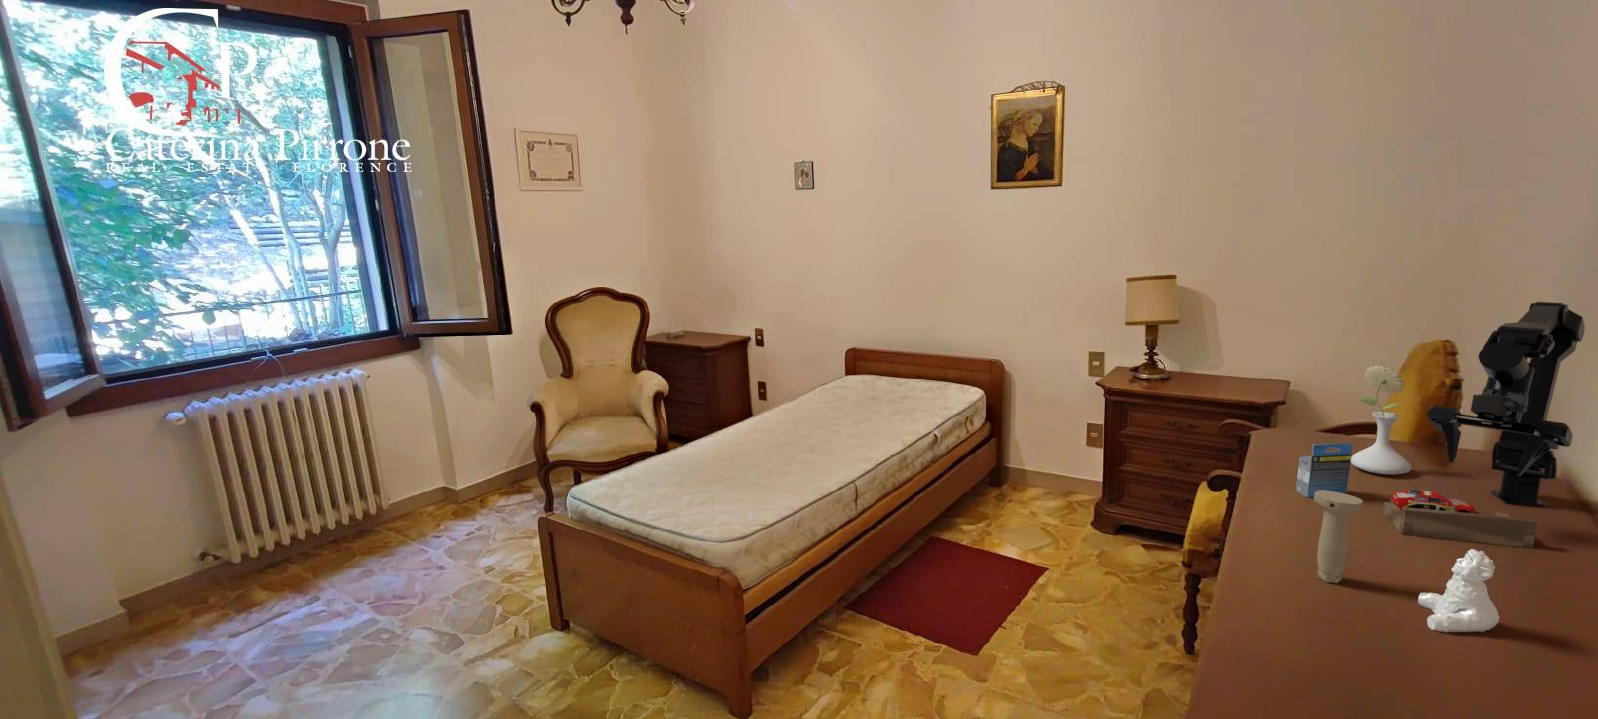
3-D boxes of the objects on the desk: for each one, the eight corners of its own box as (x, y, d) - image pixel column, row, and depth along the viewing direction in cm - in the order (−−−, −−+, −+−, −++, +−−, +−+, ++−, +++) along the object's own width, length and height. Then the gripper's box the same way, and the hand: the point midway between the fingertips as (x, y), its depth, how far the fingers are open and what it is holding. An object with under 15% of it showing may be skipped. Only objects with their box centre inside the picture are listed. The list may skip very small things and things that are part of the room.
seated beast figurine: (1414, 600, 113) (1423, 531, 111) (1486, 613, 109) (1497, 541, 107) (1428, 630, 105) (1439, 556, 103) (1507, 645, 101) (1520, 568, 99)
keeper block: (1382, 513, 145) (1385, 490, 144) (1503, 524, 138) (1506, 500, 137) (1402, 534, 135) (1405, 510, 135) (1533, 547, 128) (1537, 522, 127)
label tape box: (1333, 489, 158) (1338, 437, 156) (1347, 496, 154) (1353, 442, 152) (1294, 491, 158) (1299, 439, 156) (1308, 498, 154) (1313, 444, 152)
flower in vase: (1424, 478, 162) (1437, 372, 157) (1373, 479, 162) (1386, 374, 158) (1378, 459, 175) (1390, 361, 170) (1332, 461, 175) (1342, 363, 170)
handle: (1346, 591, 117) (1356, 506, 114) (1302, 577, 122) (1310, 495, 119) (1357, 582, 119) (1366, 498, 117) (1312, 568, 125) (1321, 488, 122)
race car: (1469, 511, 145) (1471, 493, 144) (1478, 521, 140) (1481, 502, 139) (1387, 502, 151) (1389, 484, 150) (1394, 511, 146) (1396, 493, 145)
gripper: (1430, 367, 134) (1407, 444, 133) (1572, 382, 119) (1548, 469, 117) (1445, 387, 140) (1423, 460, 139) (1582, 403, 125) (1559, 486, 123)
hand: (1483, 468), depth 129 cm, fingers open, 9 cm apart
